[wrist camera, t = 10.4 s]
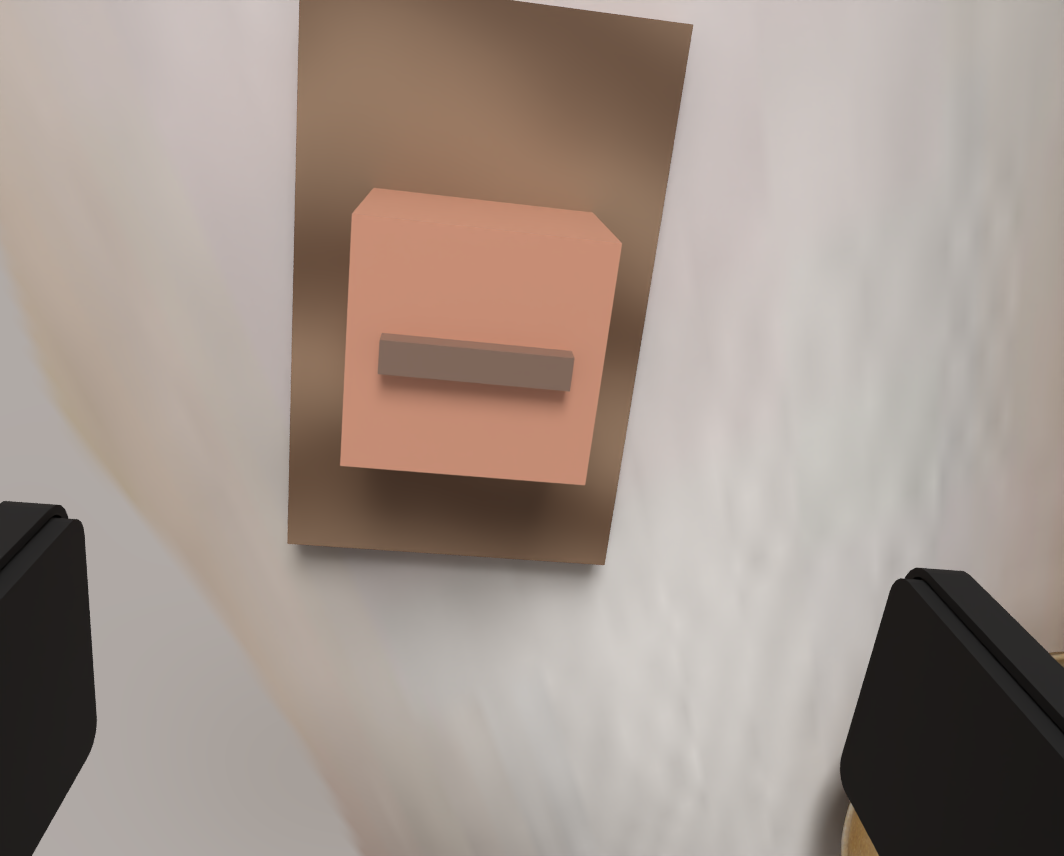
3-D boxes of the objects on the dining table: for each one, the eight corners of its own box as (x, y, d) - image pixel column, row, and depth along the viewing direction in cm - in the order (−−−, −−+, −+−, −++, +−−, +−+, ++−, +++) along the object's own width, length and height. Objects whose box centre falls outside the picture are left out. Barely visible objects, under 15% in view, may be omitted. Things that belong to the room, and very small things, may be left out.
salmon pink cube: (564, 414, 27) (588, 495, 22) (362, 397, 26) (336, 476, 21) (592, 212, 25) (626, 248, 20) (373, 187, 24) (348, 217, 19)
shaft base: (598, 542, 30) (621, 626, 26) (295, 521, 29) (264, 605, 25) (680, 27, 25) (730, 15, 20) (309, -23, 24) (271, -47, 19)
